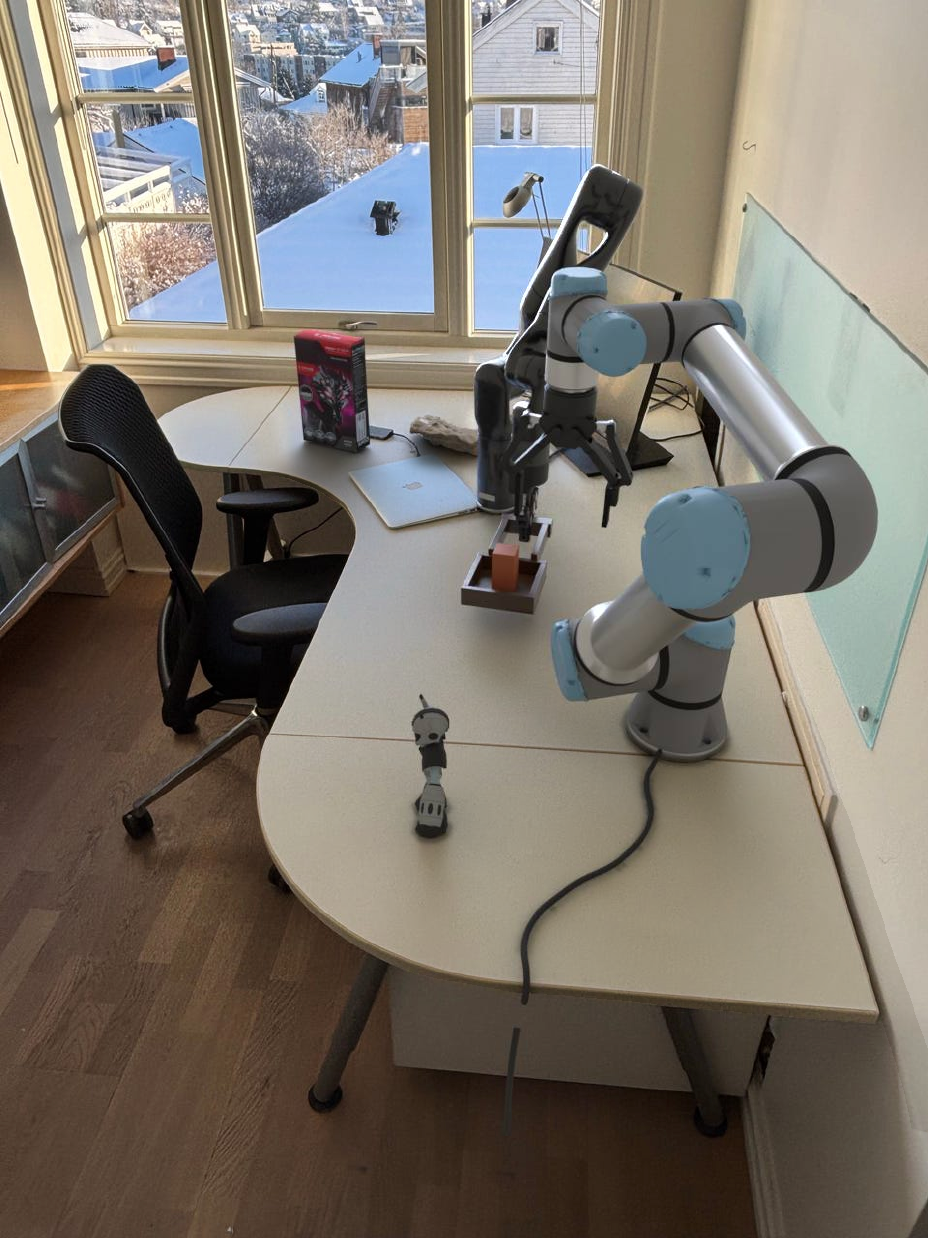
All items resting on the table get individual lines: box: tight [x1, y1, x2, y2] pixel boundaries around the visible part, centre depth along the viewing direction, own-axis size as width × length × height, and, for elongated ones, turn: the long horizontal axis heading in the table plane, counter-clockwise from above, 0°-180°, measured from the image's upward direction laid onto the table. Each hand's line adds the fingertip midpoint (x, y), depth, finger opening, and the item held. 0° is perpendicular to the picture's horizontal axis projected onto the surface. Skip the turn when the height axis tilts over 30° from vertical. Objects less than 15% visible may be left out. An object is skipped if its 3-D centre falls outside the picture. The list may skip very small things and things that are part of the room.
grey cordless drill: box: [410, 693, 450, 839], centre depth 122 cm, size 20×5×20 cm, turn 3°
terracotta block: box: [492, 543, 520, 592], centre depth 164 cm, size 4×4×8 cm
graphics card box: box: [293, 328, 371, 453], centre depth 227 cm, size 17×7×27 cm, turn 62°
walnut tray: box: [460, 513, 554, 615], centre depth 172 cm, size 28×13×4 cm, turn 166°
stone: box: [409, 414, 478, 457], centre depth 232 cm, size 21×15×6 cm
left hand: (525, 537), depth 183 cm, fingers closed on walnut tray, 2 cm apart
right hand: (561, 518), depth 142 cm, fingers open, 13 cm apart
